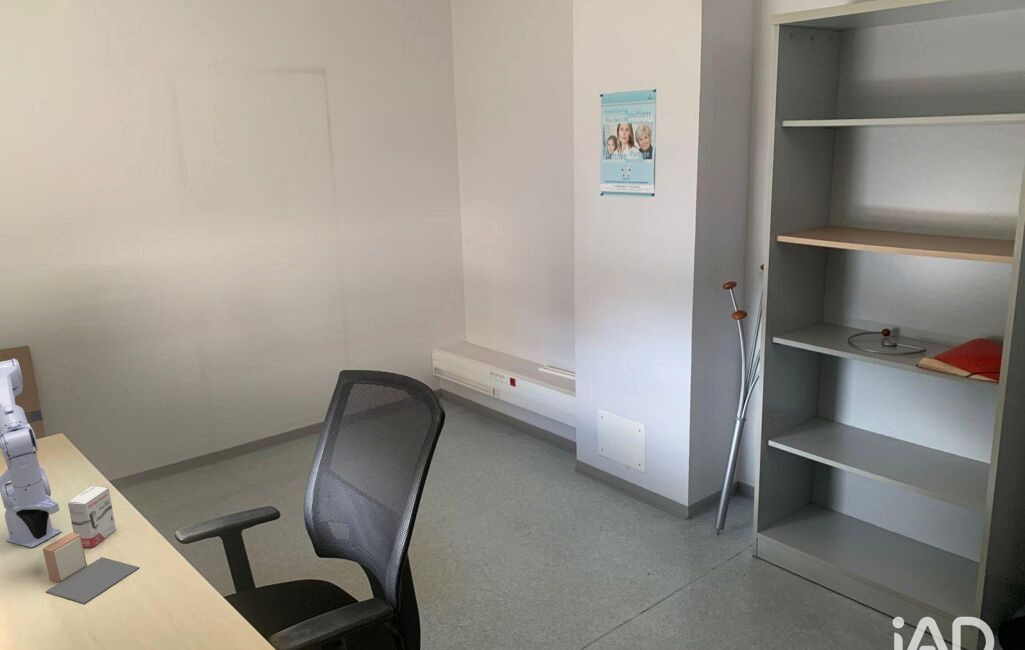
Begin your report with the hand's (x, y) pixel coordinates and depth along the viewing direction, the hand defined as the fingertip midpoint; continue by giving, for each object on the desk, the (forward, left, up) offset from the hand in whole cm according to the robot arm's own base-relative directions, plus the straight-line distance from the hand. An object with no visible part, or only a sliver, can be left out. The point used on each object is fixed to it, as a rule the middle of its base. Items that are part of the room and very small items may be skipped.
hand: (40, 536), depth 177 cm
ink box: (0, +13, -8) cm, 15 cm away
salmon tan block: (+7, 0, -8) cm, 10 cm away
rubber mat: (+15, 0, -8) cm, 17 cm away
